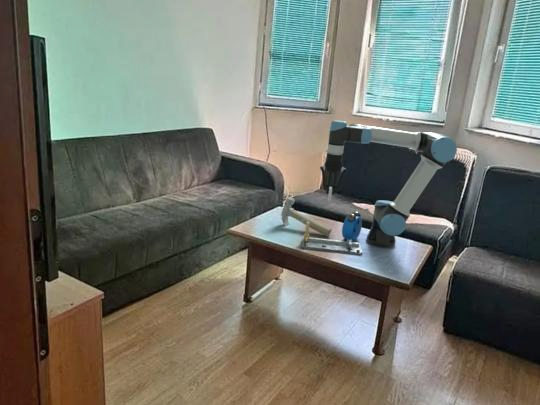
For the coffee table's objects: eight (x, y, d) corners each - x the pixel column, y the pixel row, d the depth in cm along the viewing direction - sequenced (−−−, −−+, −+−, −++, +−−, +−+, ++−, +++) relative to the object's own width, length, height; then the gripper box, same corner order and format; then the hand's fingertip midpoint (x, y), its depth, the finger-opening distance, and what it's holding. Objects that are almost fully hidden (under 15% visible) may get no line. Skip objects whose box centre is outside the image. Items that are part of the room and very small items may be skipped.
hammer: (335, 219, 239) (289, 196, 251) (332, 221, 235) (285, 197, 247) (326, 244, 245) (281, 220, 257) (322, 246, 241) (277, 222, 253)
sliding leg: (308, 238, 230) (310, 221, 228) (308, 244, 223) (310, 226, 220) (303, 238, 231) (305, 220, 228) (303, 243, 223) (305, 225, 220)
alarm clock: (350, 234, 246) (353, 209, 242) (360, 237, 243) (364, 211, 239) (340, 240, 236) (343, 214, 232) (350, 244, 233) (354, 216, 228)
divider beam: (358, 245, 229) (359, 239, 228) (359, 250, 221) (360, 245, 221) (304, 239, 230) (304, 233, 230) (303, 244, 223) (304, 239, 222)
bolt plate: (359, 246, 230) (360, 243, 229) (362, 255, 219) (362, 251, 219) (302, 240, 232) (302, 237, 231) (301, 248, 221) (301, 244, 221)
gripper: (348, 153, 216) (341, 199, 222) (321, 150, 217) (315, 197, 223) (349, 156, 209) (342, 204, 215) (321, 153, 210) (316, 201, 216)
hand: (329, 200), depth 219 cm, fingers closed
